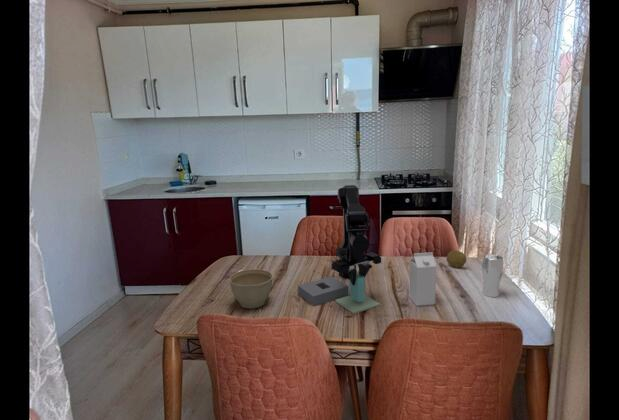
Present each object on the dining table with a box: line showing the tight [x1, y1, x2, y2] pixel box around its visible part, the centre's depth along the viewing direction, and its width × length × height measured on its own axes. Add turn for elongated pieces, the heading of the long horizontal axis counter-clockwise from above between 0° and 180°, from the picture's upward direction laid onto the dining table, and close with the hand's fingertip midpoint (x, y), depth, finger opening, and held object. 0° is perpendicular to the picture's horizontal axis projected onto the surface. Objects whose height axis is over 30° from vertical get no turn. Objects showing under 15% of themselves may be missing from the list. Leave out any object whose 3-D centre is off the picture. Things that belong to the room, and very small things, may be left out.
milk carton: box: [409, 251, 437, 307], centre depth 136 cm, size 7×7×19 cm
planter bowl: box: [228, 268, 274, 310], centre depth 141 cm, size 16×16×11 cm
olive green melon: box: [446, 249, 467, 269], centre depth 169 cm, size 7×8×8 cm
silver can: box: [481, 253, 504, 298], centre depth 141 cm, size 7×7×15 cm
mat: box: [334, 294, 381, 315], centre depth 139 cm, size 12×12×1 cm
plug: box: [349, 273, 366, 302], centre depth 137 cm, size 3×5×9 cm, turn 29°
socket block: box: [297, 275, 350, 307], centre depth 146 cm, size 16×12×4 cm
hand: (357, 284), depth 137 cm, fingers closed on plug, 3 cm apart
